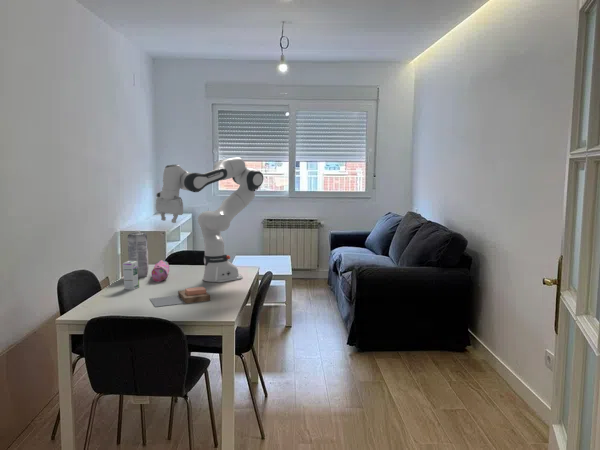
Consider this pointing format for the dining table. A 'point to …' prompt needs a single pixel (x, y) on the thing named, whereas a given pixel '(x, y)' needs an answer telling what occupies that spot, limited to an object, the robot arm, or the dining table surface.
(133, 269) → the syrup box
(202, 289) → the salmon pink rectangular block
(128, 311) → the dining table surface
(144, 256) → the juice carton
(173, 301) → the mat
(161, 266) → the pencil case
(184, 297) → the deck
